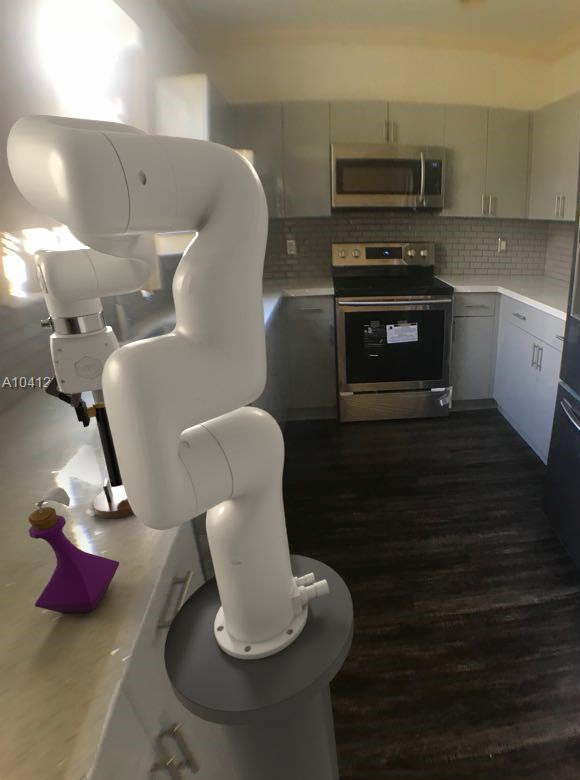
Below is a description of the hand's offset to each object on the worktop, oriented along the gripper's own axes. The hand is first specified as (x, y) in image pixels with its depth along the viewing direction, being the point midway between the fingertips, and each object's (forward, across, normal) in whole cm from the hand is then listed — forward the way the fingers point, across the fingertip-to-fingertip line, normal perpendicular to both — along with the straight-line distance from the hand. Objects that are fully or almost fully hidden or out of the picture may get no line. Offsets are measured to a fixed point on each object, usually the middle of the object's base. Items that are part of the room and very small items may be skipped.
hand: (105, 419), depth 83 cm
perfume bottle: (+15, -4, -28) cm, 32 cm away
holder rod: (+5, 0, +1) cm, 5 cm away
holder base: (+16, 0, -4) cm, 16 cm away
